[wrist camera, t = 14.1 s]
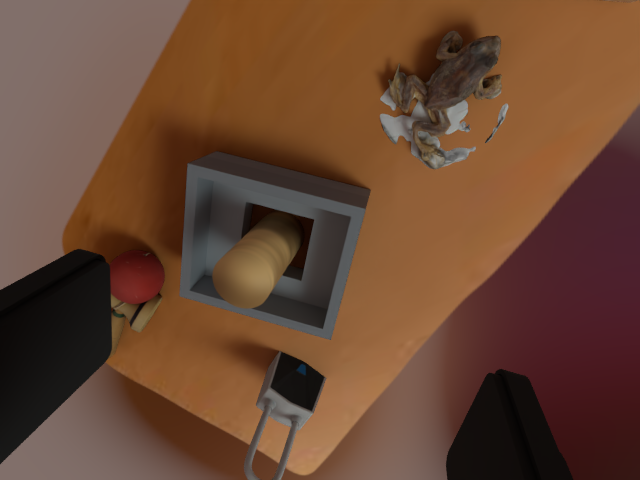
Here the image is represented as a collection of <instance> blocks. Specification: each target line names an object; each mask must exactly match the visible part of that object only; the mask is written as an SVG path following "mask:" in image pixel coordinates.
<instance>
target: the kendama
mask: <svg viewBox="0 0 640 480" xmlns="http://www.w3.org/2000/svg"><path fill="white" fill-rule="evenodd" d="M109 266H110V279H111V307H113V311H112V312H111V318H112V351H111V354H110V356H109V358H110V357H111V356H113V355H114V354H115V352H116V349H117V345H118V342H119V339H120V336H121V333H122V330H123V327H124V323H125V318H126V317H127V319H128V320H129V323H130V326H131V329H133V330H135V331H137V332H141V331H142V330H143V329H144V327H145V326H146V325H147V323H148V322H149V320H150V318H151V317H152V315H153V314H154V312H155V310H156V309H157V307H158V305H159V304H160V302H161V300H162V296H160V295H158V292H159V291H160V290H161V288H162V286H163V283H164V278H165V274H164V268H163V266H162V264H161V262H160V261H159V260H158V259H157V258H156V257H155V256H154V255H152V254H151V253H148V252H145V251H140V250H132V251H127V252H124V253H122V254H120V255H119V256H117V257H116V258H115V259H114V260H113V261H112V262H111V264H110V265H109Z"/></svg>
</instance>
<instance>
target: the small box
mask: <svg viewBox="0 0 640 480" xmlns="http://www.w3.org/2000/svg"><path fill="white" fill-rule="evenodd" d="M604 1H616V2H628V3H630V2H634V1H637V0H604Z"/></svg>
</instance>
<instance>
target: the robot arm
mask: <svg viewBox="0 0 640 480" xmlns="http://www.w3.org/2000/svg"><path fill="white" fill-rule="evenodd" d="M111 351H112V318H111V279H110V266H109V264H108V263H106V260H105V258H104V257H103V256H102V255H100V254H96V253H93V252H89V251H85V250H82V249H77V250H74V251H72V252H70V253H68V254H66V255H65V256H63V257H61V258H59V259H57V260H55V261H53V262H52V263H50V264H48V265H46V266H44V267H42V268H40V269H39V270H37V271H35V272H33V273H31V274H29V275H27V276H26V277H24V278H22V279H20V280H18V281H16V282H14V283H13V284H11V285H9V286H7V287H5V288H3V289H1V290H0V464H1V463H2V462H3V461H4V460H5V459H6V458H7V457H8V456H9V455H10V454H11V453H12V452H13V451H14V450H15V449H16V448H17V447H18V446H19V445H20V444H21V443H22V442H23V441H24V440H26V438H28V437H29V435H31V434H32V433H33V432H34V431H35V430H36V429H37V428H38V427H39V426H40V425H41V424H42V423H43V422H44V421H45V420H46V419H47V418H48V417H49V416H50V415H51V414H52V413H53V412H54V411H55V410H56V409H57V408H58V407H59V406H61V404H62V403H64V402H65V401H66V400H67V399H68V398H69V397H70V396H71V395H72V394H73V393H74V392H75V391H76V390H77V389H78V388H79V387H80V386H81V385H82V384H83V383H84V382H85V381H86V380H87V379H88V378H89V377H90V376H91V375H92V374H93V373H94V372H96V370H98V369H99V367H101V366H102V365H103V364H104V363H105V362H106V360H107V359H108V358H109V356H110V354H111ZM446 470H447V479H448V480H573V478H572V475H571V473H570V471H569V468H568V466H567V463H566V461H565V459H564V458H563V456H562V454H561V453H560V452H559V450H558V448H557V445H556V443H555V440H554V438H553V435H552V433H551V431H550V428H549V426H548V423H547V421H546V419H545V416H544V414H543V411H542V409H541V407H540V404H539V402H538V399H537V397H536V395H535V392H534V390H533V387H532V385H531V383H530V381H529V379H528V377H526V376H524V375H520V374H516V373H513V372H510V371H506V370H503V369H499V370H497V371H496V373H495V374H493V373H488V374H487V376H486V377H485V379H484V381H483V383H482V385H481V387H480V389H479V392H478V393H477V395H476V397H475V399H474V401H473V403H472V405H471V407H470V409H469V411H468V413H467V415H466V417H465V419H464V422H463V423H462V425H461V427H460V429H459V431H458V433H457V435H456V437H455V439H454V442H453V444H452V445H451V448H450V449H449V452H448V455H447V461H446Z"/></svg>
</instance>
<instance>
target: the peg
mask: <svg viewBox="0 0 640 480" xmlns="http://www.w3.org/2000/svg"><path fill="white" fill-rule="evenodd" d="M303 241H304V230H303V227H302V225H301V223H300V221H299V220H298V219H297V218H296V217H295V216H293V215H292V214H290V213H288V212H284V211H273V212H271V213H269V214H267V215H266V216H265V217H264V218H263V219H262V220H260V221H259V222H258V223H257V224H256V225H255V226H254V227H253V228H252V229H251V230H250V231H249V232H248V233H247V234H246V235H245V236H244V237H243V238H242V239H241V240H240V241H239V242H238V243H237V244H235V245H234V246H233V247H232V248H231V249H230V250H229V251H228V252H227V253H226V254H225V255H224V256H223V257H222V258H221V259H220V260H219V261H218V262H217V263H216V265H215V267H214V269H213V274H212V278H213V283H214V286H215V289H216V290H217V292H218V293H219V295H220V296H221V297H222V298H223V299H224V300H225V301H227V302H228V303H230V304H231V305H233V306H236V307H239V308H245V309H250V308H255V307H257V306H259V305H261V304H262V303H264V302H265V300H266V299H267V298H268V296H269V295H270V293H271V291H272V290H273V288H274V287H275V285H276V284H277V282H278V281H279V279H280V278H281V276H282V275H283V273H284V272H285V270H286V268H287V267H288V265H289V264H290V262H291V261H292V259H293V258H294V256H295V255H296V253H297V252H298V250H299V249H300V247H301V245H302V244H303Z"/></svg>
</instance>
